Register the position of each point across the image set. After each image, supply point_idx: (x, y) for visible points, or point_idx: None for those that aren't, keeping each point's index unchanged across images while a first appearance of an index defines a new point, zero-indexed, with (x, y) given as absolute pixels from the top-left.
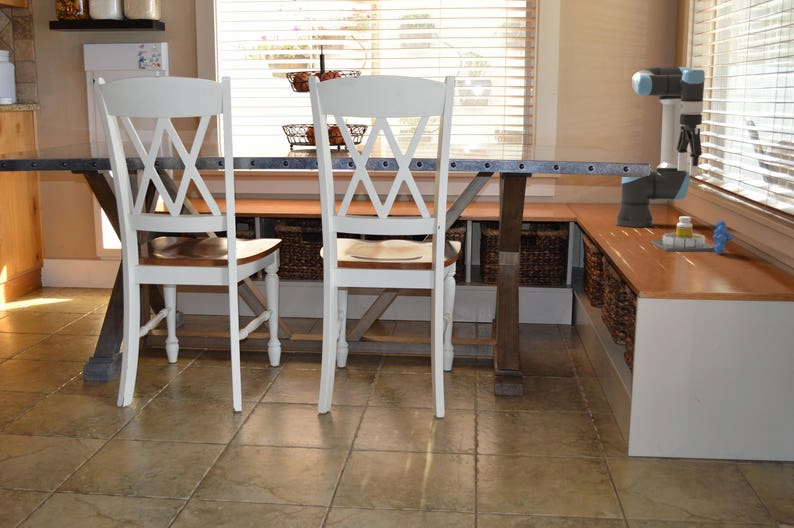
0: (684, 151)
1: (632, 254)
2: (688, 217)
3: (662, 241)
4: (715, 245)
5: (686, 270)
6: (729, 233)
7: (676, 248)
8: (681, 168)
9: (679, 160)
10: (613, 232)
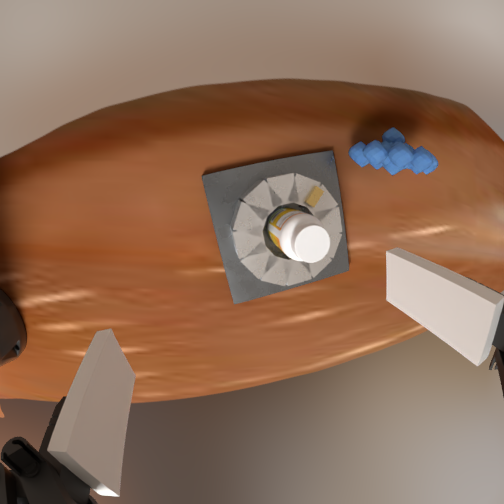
0: (58, 475)
1: (377, 325)
2: (320, 234)
3: (254, 278)
4: (367, 163)
5: (470, 241)
6: (401, 136)
7: (346, 248)
8: (121, 367)
9: (123, 433)
10: None
